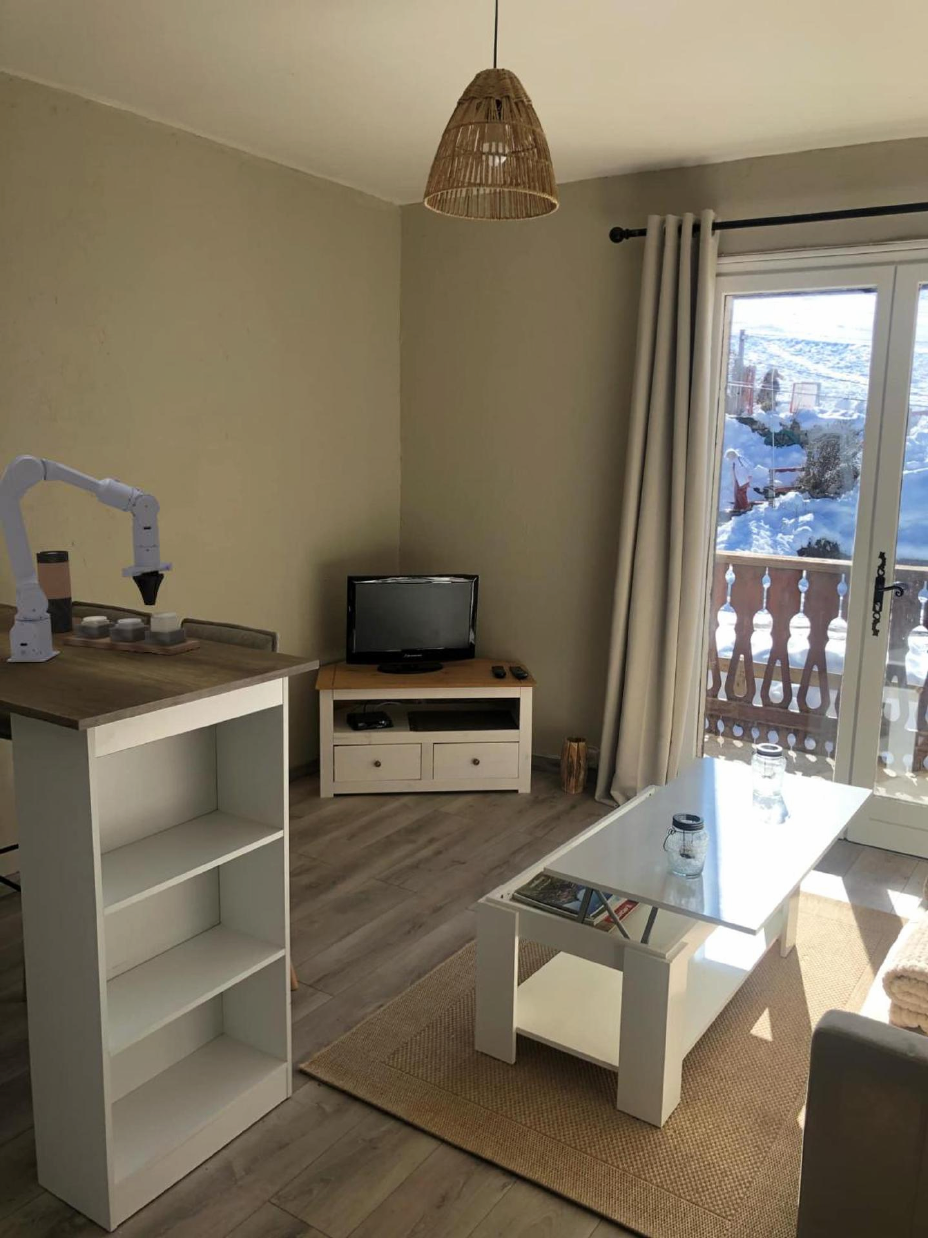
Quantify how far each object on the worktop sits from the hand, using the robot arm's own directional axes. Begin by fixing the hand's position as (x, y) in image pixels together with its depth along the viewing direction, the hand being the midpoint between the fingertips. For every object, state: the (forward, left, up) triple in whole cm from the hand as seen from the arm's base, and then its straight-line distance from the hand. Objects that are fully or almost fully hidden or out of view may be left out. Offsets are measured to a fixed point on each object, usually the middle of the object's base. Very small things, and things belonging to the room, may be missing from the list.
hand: (149, 605), depth 233 cm
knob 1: (+7, +15, -8) cm, 19 cm away
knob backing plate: (+2, +6, -10) cm, 12 cm away
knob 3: (-2, -4, -6) cm, 7 cm away
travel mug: (+23, +31, -10) cm, 40 cm away
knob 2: (+2, +6, -8) cm, 10 cm away
